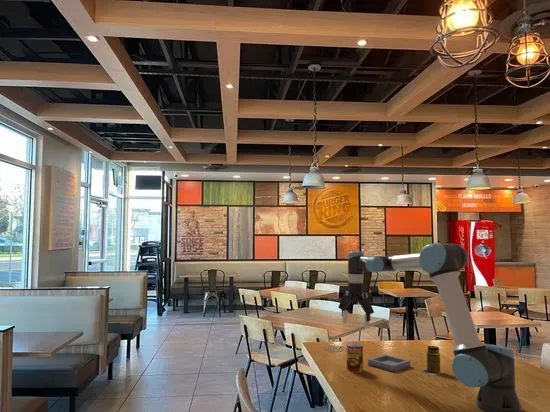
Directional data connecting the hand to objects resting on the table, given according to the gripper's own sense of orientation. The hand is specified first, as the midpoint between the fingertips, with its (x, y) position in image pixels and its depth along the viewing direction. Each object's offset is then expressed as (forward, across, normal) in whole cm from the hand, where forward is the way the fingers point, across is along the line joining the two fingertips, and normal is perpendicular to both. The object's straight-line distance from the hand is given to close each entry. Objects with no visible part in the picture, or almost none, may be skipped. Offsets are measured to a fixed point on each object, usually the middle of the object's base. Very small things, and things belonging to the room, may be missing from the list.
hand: (355, 325), depth 206 cm
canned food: (+21, 0, +1) cm, 21 cm away
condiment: (+21, -26, -27) cm, 43 cm away
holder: (+21, -7, -18) cm, 29 cm away
